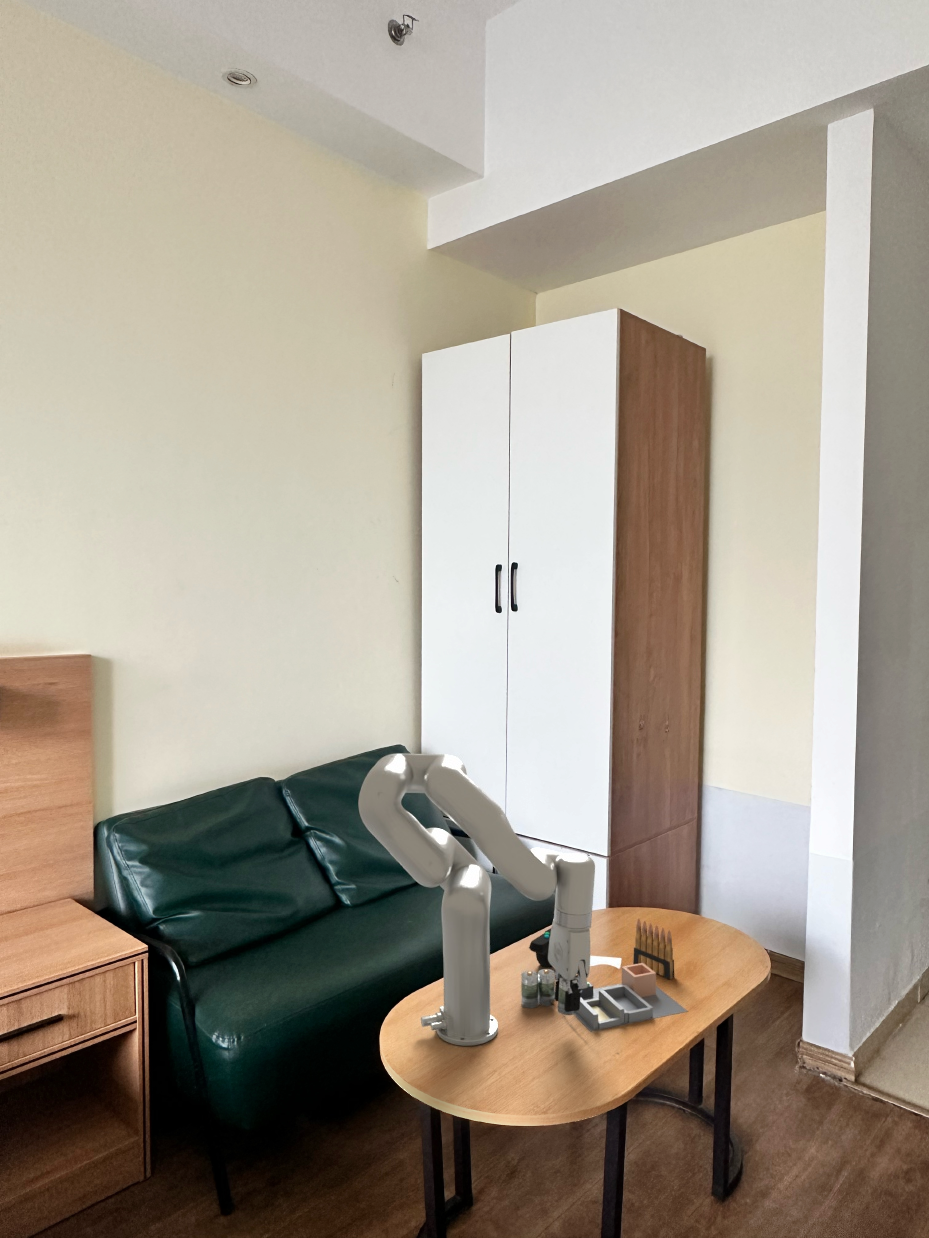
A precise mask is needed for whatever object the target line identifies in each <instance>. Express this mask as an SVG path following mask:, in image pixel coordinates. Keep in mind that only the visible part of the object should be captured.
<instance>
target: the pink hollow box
mask: <svg viewBox="0 0 929 1238" xmlns="http://www.w3.org/2000/svg"><path fill="white" fill-rule="evenodd" d="M621 983H622V985H627V986H628V987H629V988H630V989H632V990H633V991H634V992H635V993H636V994H637V995H639V996H640V997H645V996H650V995H655V994H656V986H657V974H656V973H655V972H654V971H653V970H651V969H650V968H649V967H648V966H646V965H645V964H644V963H639V964H628V965H624V966H621Z"/></svg>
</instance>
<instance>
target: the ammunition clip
mask: <svg viewBox="0 0 929 1238" xmlns="http://www.w3.org/2000/svg"><path fill="white" fill-rule="evenodd" d="M642 922H643V923H642V924H641V919H640V918H638V919H637V921H636V926H635V936H634V937H635V938H634V947H633V959H632V960H633V962H632V965H634V964H639V963H644V964H645V965H646V966H648V967H649V968H650V969H651V970H653V971H654V972H655V973H656V976H659V977H661V978H664V979H666V980H669V981H670V980H671V979H673V978H675V960H674V958H673V956H674V955H673V954H674V953H673V951H674V950H673V949H674V948H673V940H672V939H673V938H672V933H671V931H670V929H668V931H667V933H666V932H665V929H664V927H662V928H661V931H660V930H659V927H658V925H655V927H654V928H653V924H652V923H651V922H650V923H649V925H647V922H646V920H643V921H642Z"/></svg>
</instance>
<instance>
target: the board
mask: <svg viewBox="0 0 929 1238" xmlns="http://www.w3.org/2000/svg"><path fill="white" fill-rule="evenodd" d="M587 985H588V987H587V988H584V989H582V992H581V996H580V1009H579V1010H578V1011H575V1014H573V1015H574V1016H575V1017H576V1018H577V1020H578V1021H579V1022H581V1023H582V1025H584V1027H586V1029H587V1030H589V1031H590V1032H595V1031H601V1030H606V1029H610V1028H611V1029H612V1028H616V1027H619V1026H625V1025H631V1024H634V1023H639V1022H643V1021H648V1020H654V1019H659V1018H662V1017H663V1018H664V1017H667V1016H672V1015H678V1014H683V1013H687V1012H689V1011H688V1010H687V1009H686V1008H685V1007H683V1006H682V1004H679V1002H677V1001H676V1000H675V999H673V997H671V996H670V995H669V994H667V993H666V992H665V991H664V990H662V989H661V988H660V987H658V986H657V985H656V994H655V995H650V996H645V997H640V996H639V995H637V994H636V993H635V992H634V991H633V990H632V989H630V988H629V987H628V986H627V985H622V982H621V983H618V984H612V985H605V986H602V987H596V988H594V985H593V984H592V983H591V982H590V981H587Z"/></svg>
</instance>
